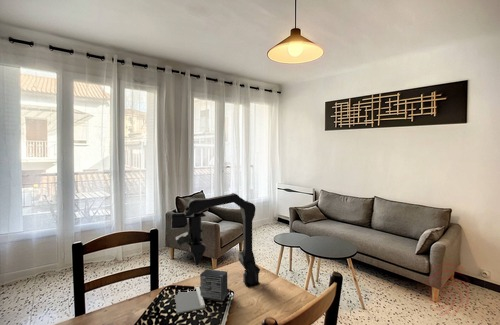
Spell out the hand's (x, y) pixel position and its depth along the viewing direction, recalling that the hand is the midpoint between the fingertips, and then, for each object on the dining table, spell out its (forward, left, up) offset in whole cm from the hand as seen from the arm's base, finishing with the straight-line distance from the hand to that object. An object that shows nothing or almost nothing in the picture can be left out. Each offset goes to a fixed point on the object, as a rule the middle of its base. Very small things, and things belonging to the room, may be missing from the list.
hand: (195, 261), depth 118 cm
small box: (-7, +7, -14) cm, 17 cm away
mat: (+4, +6, -14) cm, 16 cm away
